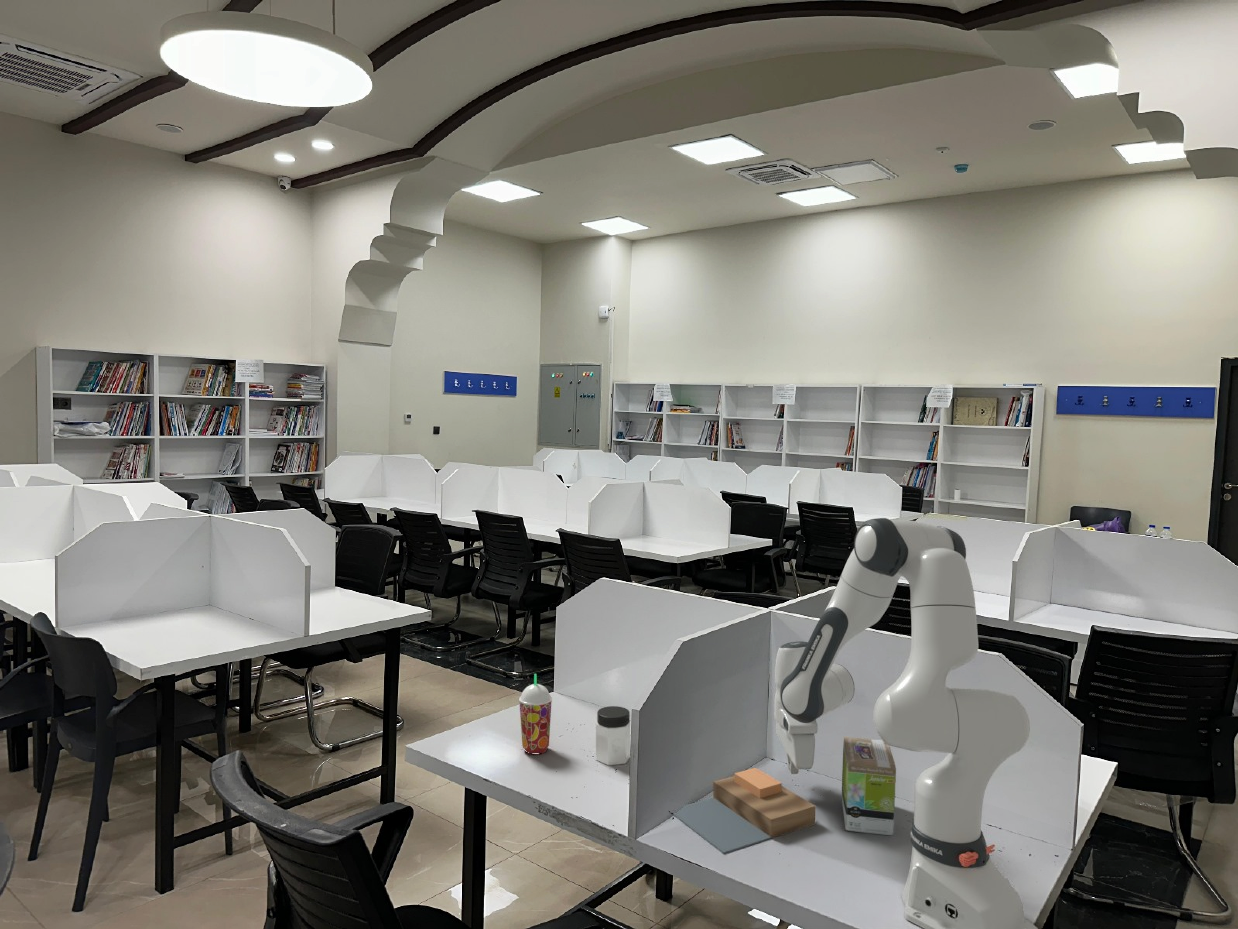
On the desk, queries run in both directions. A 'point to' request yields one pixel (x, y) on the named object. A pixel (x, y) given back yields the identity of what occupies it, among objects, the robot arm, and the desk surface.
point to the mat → (720, 825)
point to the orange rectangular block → (758, 782)
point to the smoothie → (535, 717)
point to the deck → (766, 808)
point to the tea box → (868, 786)
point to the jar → (613, 735)
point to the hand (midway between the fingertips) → (793, 771)
